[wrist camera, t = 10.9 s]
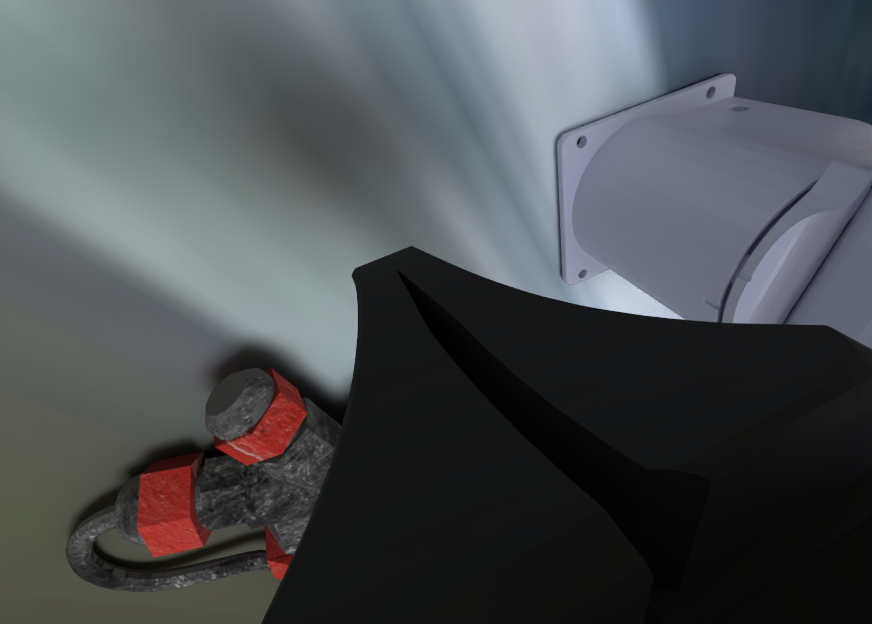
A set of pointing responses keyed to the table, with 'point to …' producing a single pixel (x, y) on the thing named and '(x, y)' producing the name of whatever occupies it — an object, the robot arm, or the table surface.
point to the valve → (221, 489)
